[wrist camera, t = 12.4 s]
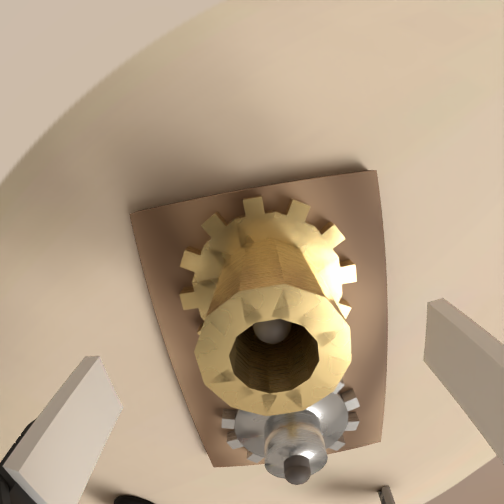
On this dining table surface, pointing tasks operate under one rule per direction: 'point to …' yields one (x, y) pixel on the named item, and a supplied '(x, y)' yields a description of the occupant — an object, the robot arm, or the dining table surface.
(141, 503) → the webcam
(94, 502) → the dining table surface
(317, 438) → the steel gear
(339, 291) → the brass gear
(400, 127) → the dining table surface
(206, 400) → the gear board
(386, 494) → the mechanical component
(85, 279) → the dining table surface
